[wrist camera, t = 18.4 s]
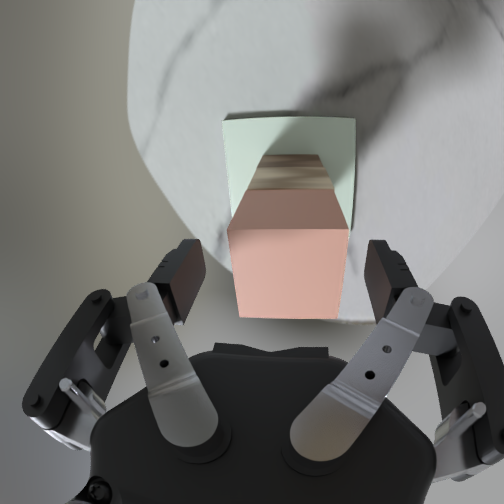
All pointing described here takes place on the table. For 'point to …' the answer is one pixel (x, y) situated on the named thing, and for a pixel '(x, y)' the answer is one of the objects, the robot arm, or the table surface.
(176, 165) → the table surface
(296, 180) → the cube maple
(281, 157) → the cube walnut
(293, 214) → the cube terracotta
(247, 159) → the build plate
